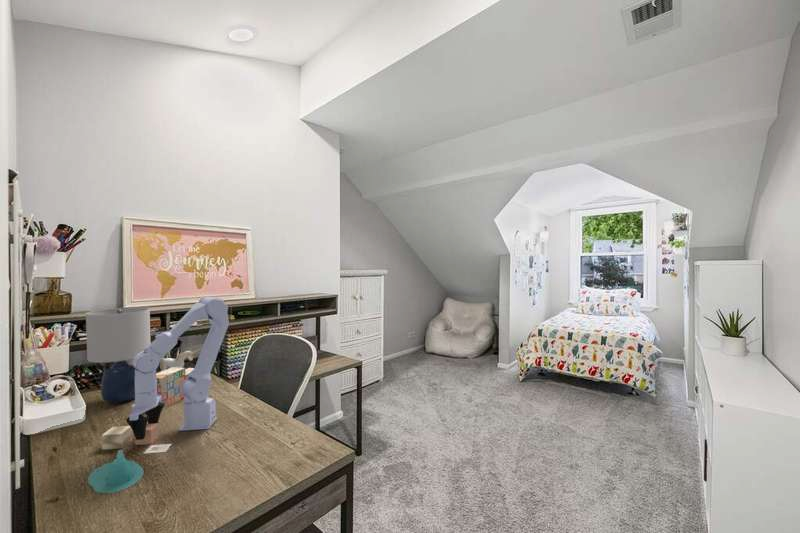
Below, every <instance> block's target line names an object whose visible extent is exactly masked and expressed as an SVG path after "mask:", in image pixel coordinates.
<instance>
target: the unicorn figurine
mask: <svg viewBox="0 0 800 533" xmlns="http://www.w3.org/2000/svg"><path fill="white" fill-rule="evenodd" d="M201 350H202V348H199V349H197V350H195V351H191V349H190V350H186V351H183V352H181V353H179V354H178V355H177V356H176V357H175V358H171V357H166V358H165V357H162V359H161V360H160V361H159V366H160V367H159V368H160V371H159V372H161V371H164V370H167V369H169V368H172V367H176V368H184V366H185V360H186V358H187V359H188V361H193V359H194V356H193V354H195V353H197V352H199V351H201Z"/></svg>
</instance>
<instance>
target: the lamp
mask: <svg viewBox="0 0 800 533" xmlns="http://www.w3.org/2000/svg"><path fill="white" fill-rule="evenodd" d="M150 314H151V310H150V308H149V307H146V306H145V307H141V306H140V307H139V306H138V307H137V306H134V307H133V306H132V307H129V306H128V307H114V308H106V309H97V310H92V311H91V310H90V311H88V312H87V311H86V312H85V327H86V328H85V330H86V332H85V333H86V358H87V359H86V360H87V362H89V363H97V364H98V363H113V365H112V366H110V367H108V368H107V369H106V370H105V371H104V373H103V374H102V376H101V377H102V378H101V383H100V393H101V397H102V399H103V401H104V402H106V403H108V404H121V403H127V402H130V401H132V400H133V399H135V369H136V368H135V367H133V365H132V364H129V362H128V361H129V360H134V359H133V358H134V357H135V356H136V355H137V354H138V353H140V352H142V351H143V348H145V347H146V348H147V347H148V346H149V345H150V344H151V343H152V342H151V315H150Z"/></svg>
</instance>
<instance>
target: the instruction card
mask: <svg viewBox="0 0 800 533" xmlns="http://www.w3.org/2000/svg"><path fill="white" fill-rule="evenodd" d="M172 444H173V443H167V444H165V443H163V444H153V445H152V444H150V446H149V447H148V448H147V449H146V450H145V451H144V452H143V453H142V454H143V455H144V454H145V455H146V454H156V453H157V454H160V453H161V454H162V453H166V452H167V451H168V450H169V449H170V448H171V447H172V446H171V445H172ZM170 446H171V447H170ZM169 447H170V448H169Z"/></svg>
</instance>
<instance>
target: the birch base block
mask: <svg viewBox="0 0 800 533" xmlns="http://www.w3.org/2000/svg"><path fill="white" fill-rule="evenodd" d="M132 440H133V430H132V428H131V427H130V425H122V426H121V425H120V426H112V427H110V428H109V429H107V431H106V432H104V433H103V434H102V435H101V450H113V449H123V448H124V447H126V446H127V444H129V443H130V442H131V441H132Z"/></svg>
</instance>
